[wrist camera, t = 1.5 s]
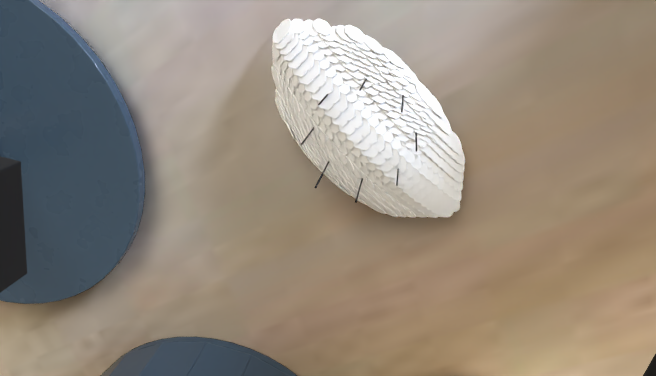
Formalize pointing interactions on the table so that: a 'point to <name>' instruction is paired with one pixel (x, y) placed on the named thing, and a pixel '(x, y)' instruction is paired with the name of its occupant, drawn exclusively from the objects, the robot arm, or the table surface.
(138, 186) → the tin lid
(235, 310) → the table surface
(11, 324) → the table surface
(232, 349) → the tin
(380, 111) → the pincushion
